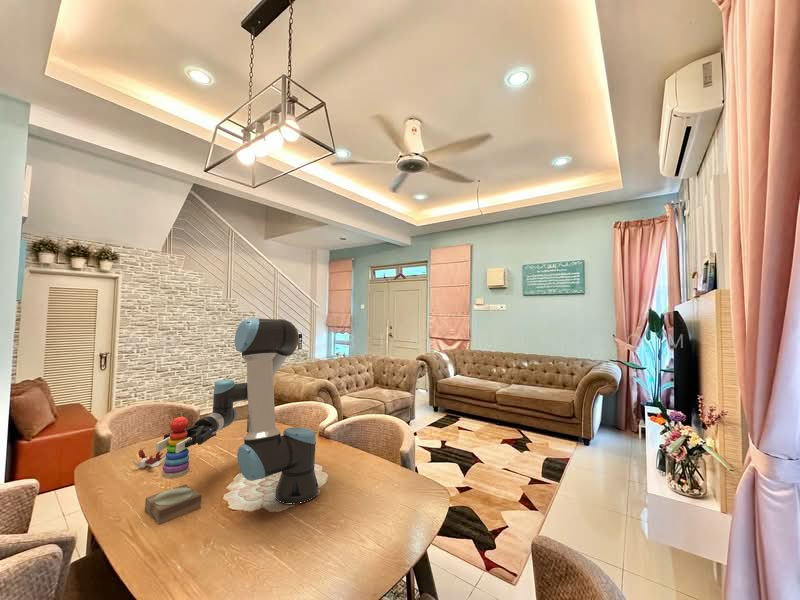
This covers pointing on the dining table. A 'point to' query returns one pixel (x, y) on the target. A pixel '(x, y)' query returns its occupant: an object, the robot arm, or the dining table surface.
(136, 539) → the dining table surface
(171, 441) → the stacking toy
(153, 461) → the figurine
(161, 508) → the walnut plinth
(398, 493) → the dining table surface
